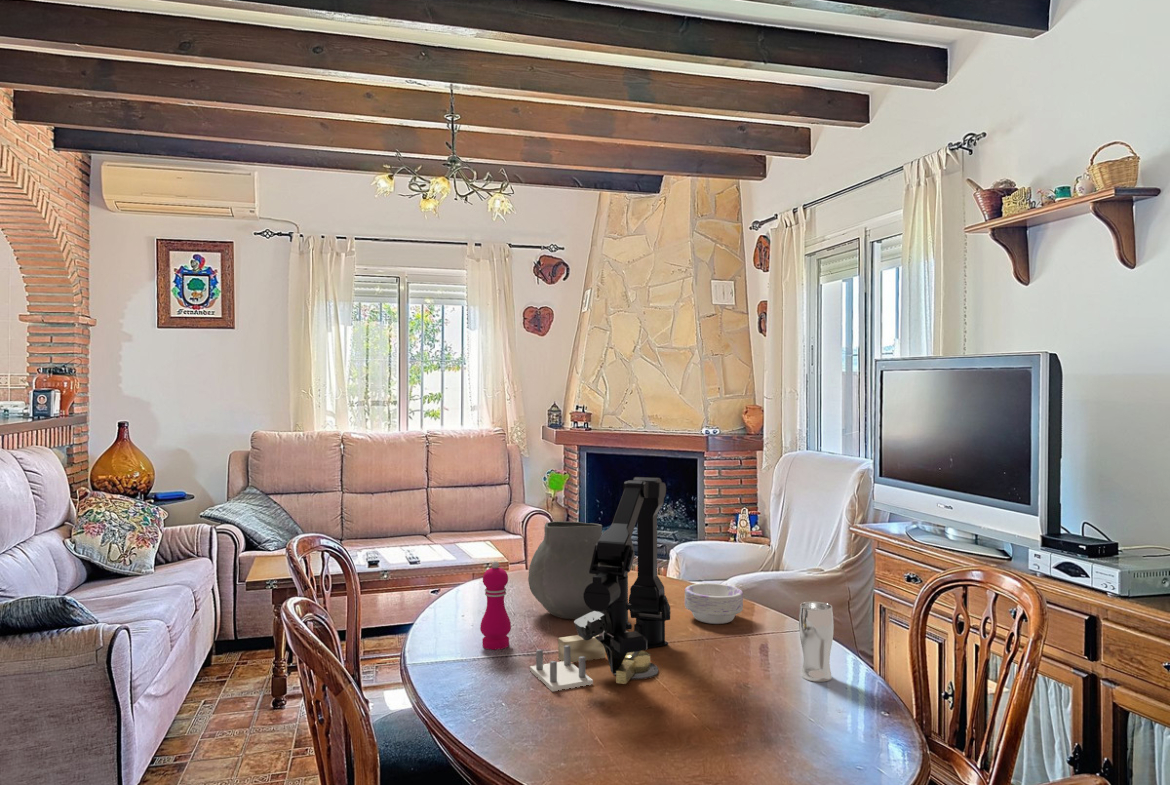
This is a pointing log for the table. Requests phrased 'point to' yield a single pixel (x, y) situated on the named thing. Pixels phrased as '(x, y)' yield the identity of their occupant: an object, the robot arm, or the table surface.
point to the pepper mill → (495, 609)
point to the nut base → (645, 673)
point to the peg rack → (561, 672)
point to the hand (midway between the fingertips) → (614, 672)
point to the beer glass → (816, 640)
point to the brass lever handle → (632, 666)
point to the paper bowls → (713, 602)
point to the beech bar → (581, 648)
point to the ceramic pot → (564, 567)
